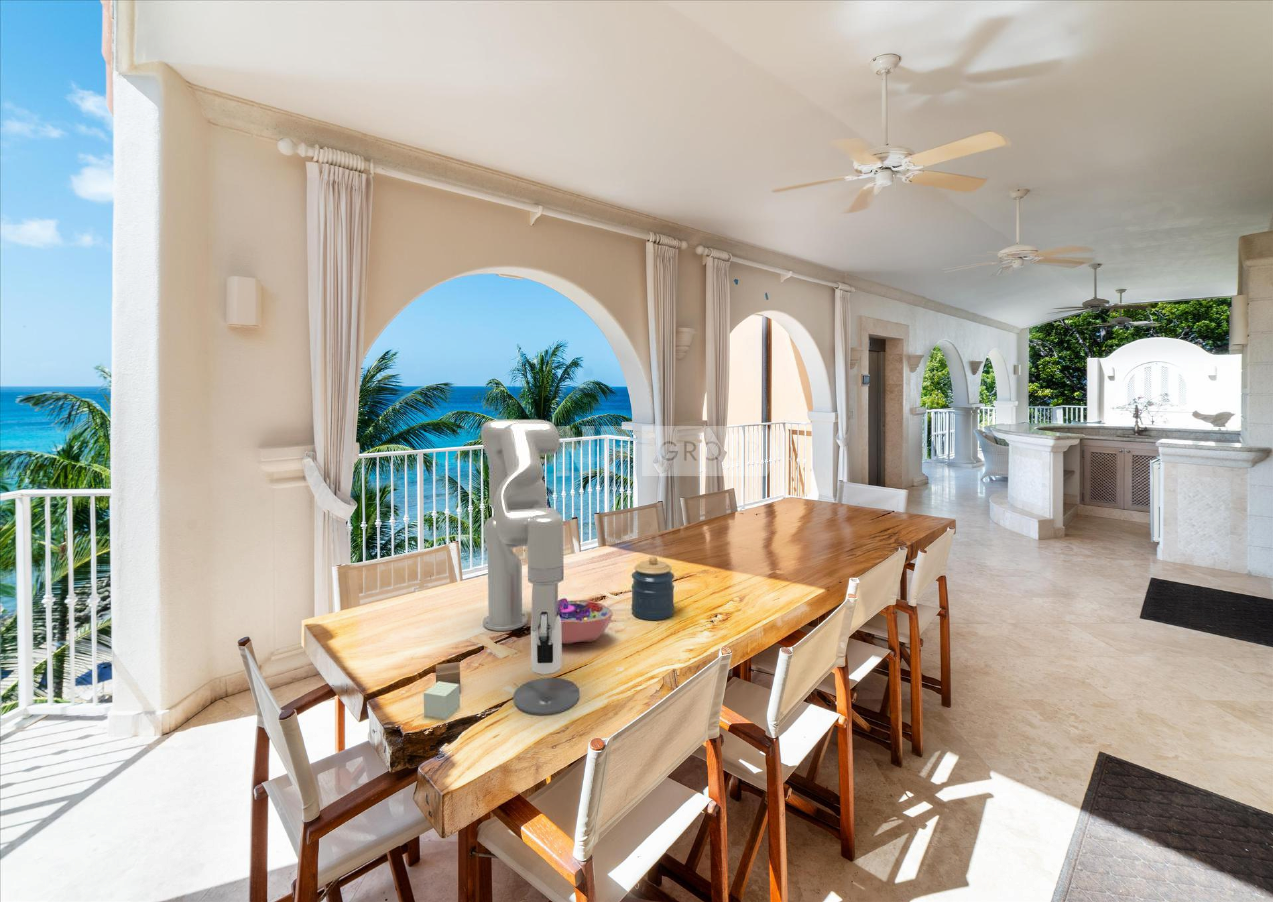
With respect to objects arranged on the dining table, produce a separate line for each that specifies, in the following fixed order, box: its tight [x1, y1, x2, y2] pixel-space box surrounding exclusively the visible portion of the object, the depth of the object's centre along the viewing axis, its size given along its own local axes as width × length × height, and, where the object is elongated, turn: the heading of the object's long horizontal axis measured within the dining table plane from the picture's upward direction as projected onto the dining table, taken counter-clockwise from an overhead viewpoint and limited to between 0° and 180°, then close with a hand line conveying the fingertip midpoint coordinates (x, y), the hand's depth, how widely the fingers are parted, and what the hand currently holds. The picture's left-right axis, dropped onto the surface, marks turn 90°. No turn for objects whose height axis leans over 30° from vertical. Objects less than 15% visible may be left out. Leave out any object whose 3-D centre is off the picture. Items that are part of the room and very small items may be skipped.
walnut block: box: [435, 661, 461, 689], centre depth 125 cm, size 5×5×5 cm
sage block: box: [423, 681, 461, 721], centre depth 116 cm, size 5×5×5 cm
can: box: [530, 611, 563, 676], centre depth 121 cm, size 6×6×12 cm
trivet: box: [513, 677, 580, 716], centre depth 122 cm, size 14×14×1 cm
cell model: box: [557, 597, 614, 644], centre depth 151 cm, size 17×20×11 cm
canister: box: [630, 555, 675, 621], centre depth 171 cm, size 13×13×18 cm
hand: (546, 654), depth 121 cm, fingers closed on can, 6 cm apart
